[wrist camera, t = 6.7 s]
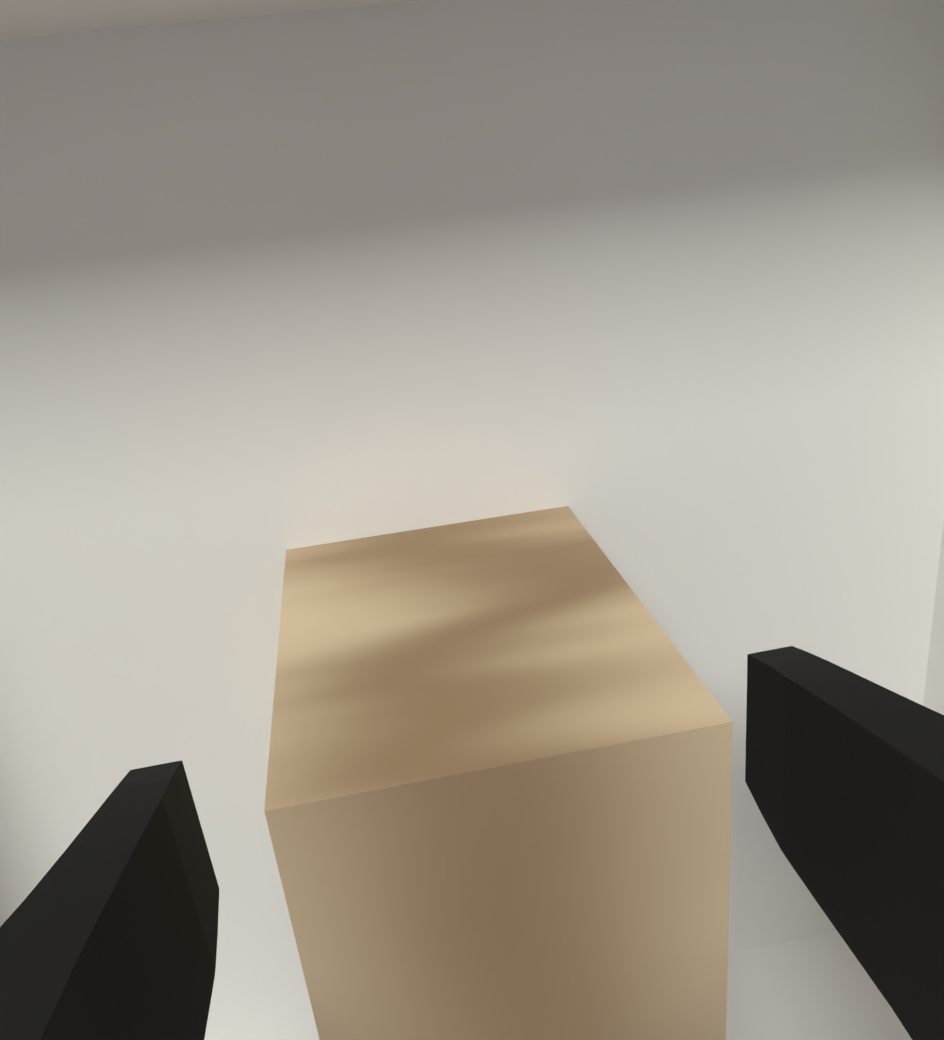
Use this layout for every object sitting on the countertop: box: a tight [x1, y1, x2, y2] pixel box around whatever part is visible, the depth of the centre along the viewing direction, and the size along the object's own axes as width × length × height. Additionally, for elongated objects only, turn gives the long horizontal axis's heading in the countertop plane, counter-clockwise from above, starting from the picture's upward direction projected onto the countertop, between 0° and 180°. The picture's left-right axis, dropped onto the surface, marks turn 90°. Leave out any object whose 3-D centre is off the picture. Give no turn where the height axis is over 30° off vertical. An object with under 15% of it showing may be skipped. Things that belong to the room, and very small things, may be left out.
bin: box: [0, 0, 944, 1040], centre depth 13 cm, size 20×20×4 cm
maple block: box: [264, 506, 733, 1040], centre depth 12 cm, size 4×4×6 cm
